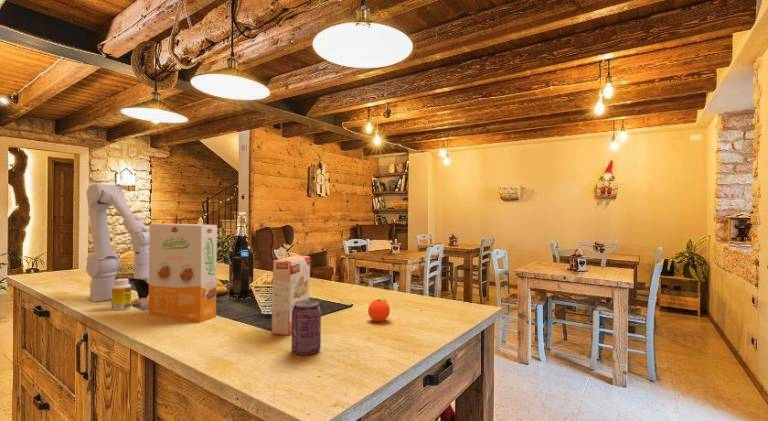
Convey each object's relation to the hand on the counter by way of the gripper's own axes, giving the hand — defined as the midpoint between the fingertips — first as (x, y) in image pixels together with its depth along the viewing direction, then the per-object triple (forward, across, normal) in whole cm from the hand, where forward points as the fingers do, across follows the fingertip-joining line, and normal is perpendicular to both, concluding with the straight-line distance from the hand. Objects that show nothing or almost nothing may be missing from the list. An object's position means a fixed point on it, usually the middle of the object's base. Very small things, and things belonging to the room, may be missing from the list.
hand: (143, 299), depth 140 cm
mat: (+1, -7, 0) cm, 7 cm away
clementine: (+1, -81, -41) cm, 91 cm away
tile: (0, -1, 0) cm, 1 cm away
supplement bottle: (+1, -4, +8) cm, 9 cm away
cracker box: (+1, -66, -18) cm, 68 cm away
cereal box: (+1, -29, -2) cm, 29 cm away
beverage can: (+1, -84, -9) cm, 84 cm away
